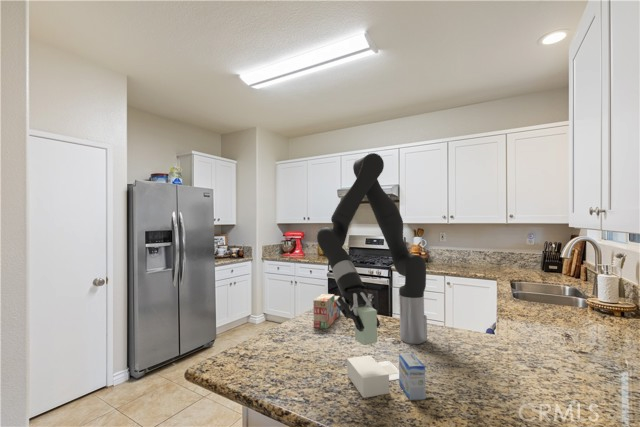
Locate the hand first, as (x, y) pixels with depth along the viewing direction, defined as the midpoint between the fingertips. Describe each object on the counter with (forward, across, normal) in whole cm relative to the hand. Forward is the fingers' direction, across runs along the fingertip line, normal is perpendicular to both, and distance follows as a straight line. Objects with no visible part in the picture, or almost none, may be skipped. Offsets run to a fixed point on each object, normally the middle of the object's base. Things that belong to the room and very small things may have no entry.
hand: (369, 328), depth 83 cm
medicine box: (+16, +9, +7) cm, 20 cm away
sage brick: (+2, 0, +4) cm, 4 cm away
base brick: (+10, 0, +13) cm, 16 cm away
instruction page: (+8, +9, +15) cm, 19 cm away
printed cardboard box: (-28, +15, +51) cm, 60 cm away
